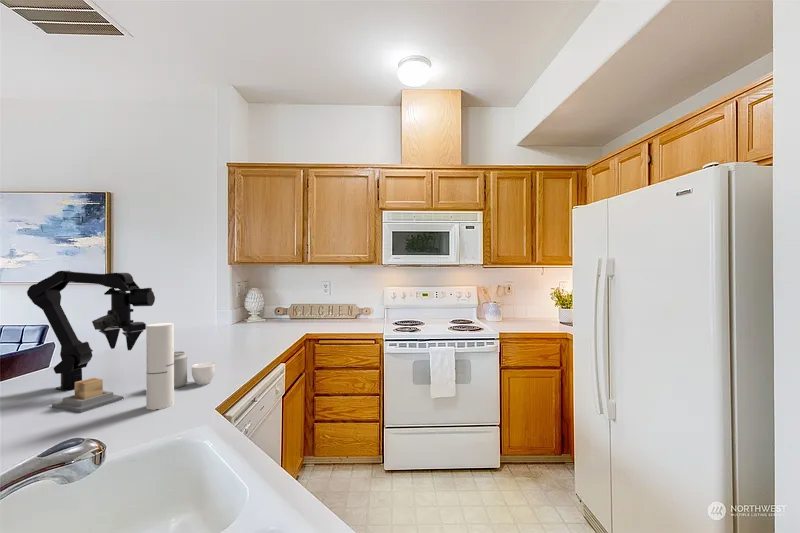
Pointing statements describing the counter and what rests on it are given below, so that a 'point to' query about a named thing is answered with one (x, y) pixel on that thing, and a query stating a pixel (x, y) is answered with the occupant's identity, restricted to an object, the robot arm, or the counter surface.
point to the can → (180, 369)
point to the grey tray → (87, 402)
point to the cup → (203, 373)
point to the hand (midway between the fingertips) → (121, 349)
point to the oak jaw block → (88, 388)
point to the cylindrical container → (159, 365)
